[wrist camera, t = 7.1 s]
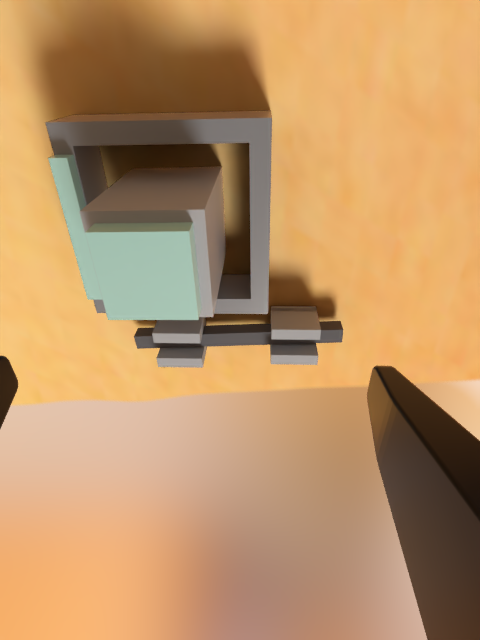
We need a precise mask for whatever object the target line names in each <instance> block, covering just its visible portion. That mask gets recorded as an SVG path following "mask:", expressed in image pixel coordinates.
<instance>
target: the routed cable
mask: <svg viewBox="0 0 480 640" xmlns="http://www.w3.org/2000/svg"><path fill="white" fill-rule="evenodd" d="M342 336H343V328H342V325H341V321H327V322H319V318H318V314H317V309H316V306H271V324H242V325H214V326H206V317H199V320H157V323H156V325H155V328H138V329H137V332H136V334H135V336H134V338H135V342H136V345H137V348H160V350H159V353H158V356H157V363H158V367H203V364H204V359H205V354H206V349H207V346H235V345H268V344H270V352H271V364H301V365H317V362H318V352H317V347H316V343H333V342H342Z"/></svg>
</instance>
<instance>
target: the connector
mask: <svg viewBox="0 0 480 640" xmlns="http://www.w3.org/2000/svg"><path fill="white" fill-rule="evenodd" d="M79 212H80V216H81V220H82V223H83V227H84V231H85V235H86V239H87V242H88V246H89V250H90V254H91V258H92V261H93V265H94V269H95V273H96V276H97V280H98V284H99V288H100V292H101V295H102V299H103V303H104V307H105V311H106V314H107V317H108V320H199V317H213V316H214V311H215V306H216V301H217V296H218V291H219V286H220V281H221V276H222V271H223V266H224V261H225V255H226V236H225V217H224V198H223V180H222V167H176V168H132V169H131V170H130V171H129V172H128V173H126V174H125V175H124V176H123V177H121V178H120V179H119V180H118V181H116V182H115V183H114V184H113V185H111V186H110V187H109V188H108V189H106V190H105V191H104V192H103V193H101V194H100V195H99V196H98V197H96V198H95V199H94V200H93V201H92V202H90V203H89V204H88V205H87V206H85V207H84V208H83V209H82V210H80V211H79Z"/></svg>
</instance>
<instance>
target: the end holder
mask: <svg viewBox="0 0 480 640" xmlns="http://www.w3.org/2000/svg"><path fill="white" fill-rule="evenodd" d="M45 123H46V126H47V130H48V134H49V137H50V141H51V145H52V148H53V152H54V156H52V157H49V158H48V159H49V163H50V166H51V170H52V173H53V177H54V181H55V184H56V188H57V191H58V195H59V198H60V202H61V206H62V209H63V213H64V216H65V220H66V223H67V227H68V231H69V234H70V238H71V241H72V245H73V248H74V252H75V255H76V259H77V263H78V266H79V270H80V273H81V277H82V280H83V284H84V288H85V291H86V295H87V298H88V299H93V300H94V303H95V307H96V311H97V313H106V311H105V307H104V303H103V299H102V295H101V292H100V288H99V284H98V280H97V276H96V273H95V269H94V265H93V261H92V258H91V254H90V250H89V246H88V242H87V239H86V235H85V231H84V227H83V223H82V220H81V216H80V212H79V211H80V210H82V209H83V208H84V207H85V206H87V205H88V204H89V203H90V202H92V201H93V200H94V199H95V198H96V197H98V196H99V195H100V194H101V193H103V192H104V191H105V190H106V189H108V187H107V182H106V178H105V173H104V168H103V163H102V158H101V154H100V149H99V145H155V144H212V143H249V156H250V261H251V274H222V276H221V281H220V286H219V291H218V296H217V301H216V306H215V311H214V314H268V292H269V240H270V189H271V137H272V115H271V111H226V112H181V113H135V114H90V115H71V116H67V117H64V118H60V119H56V120H53V121H49V122H45Z"/></svg>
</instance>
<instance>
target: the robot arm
mask: <svg viewBox="0 0 480 640" xmlns="http://www.w3.org/2000/svg"><path fill="white" fill-rule="evenodd" d="M17 389H18V380H17V377H16V375H15V373H14V371H13V368H12V366H11V364H10V362H9V360H8V359H7V358H6V357H5V356H0V428H1V426H2V424H3V422H4V419H5V417H6V415H7V412H8V410H9V408H10V405H11V403H12V401H13V398H14V396H15V394H16V392H17ZM367 400H368V407H369V414H370V420H371V426H372V432H373V439H374V445H375V451H376V457H377V462H378V466H379V470H380V473H381V477H382V480H383V484H384V487H385V491H386V494H387V498H388V501H389V505H390V508H391V512H392V516H393V519H394V523H395V526H396V530H397V533H398V537H399V540H400V544H401V547H402V551H403V554H404V558H405V561H406V565H407V569H408V572H409V576H410V579H411V582H412V586H413V590H414V593H415V597H416V600H417V604H418V607H419V611H420V615H421V618H422V622H423V625H424V629H425V632H426V636H427V639H428V640H480V441H479V440H478V439H477V438H476V437H475V436H473V435H472V434H471V433H470V432H469V431H467V430H466V429H465V428H464V427H463V426H462V425H461V424H459V423H458V422H457V421H456V420H455V419H454V418H452V417H451V416H450V415H449V414H448V413H447V412H445V411H444V410H443V409H442V408H441V407H440V406H438V405H437V404H436V403H435V402H434V401H433V400H431V399H430V398H429V397H428V396H427V395H425V394H424V393H423V392H422V391H421V390H420V389H418V388H417V387H416V386H415V385H414V384H413V383H411V382H410V381H409V380H408V379H407V378H406V377H404V376H403V375H402V374H401V373H400V372H399V371H397V370H396V369H395V368H394V367H392V366H375V367H374V368H373V370H372V374H371V378H370V383H369V387H368V392H367Z"/></svg>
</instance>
